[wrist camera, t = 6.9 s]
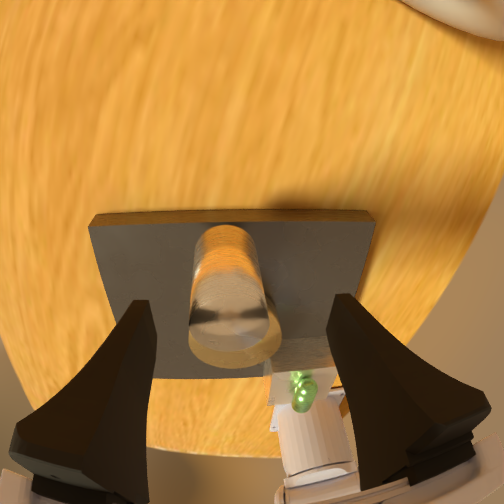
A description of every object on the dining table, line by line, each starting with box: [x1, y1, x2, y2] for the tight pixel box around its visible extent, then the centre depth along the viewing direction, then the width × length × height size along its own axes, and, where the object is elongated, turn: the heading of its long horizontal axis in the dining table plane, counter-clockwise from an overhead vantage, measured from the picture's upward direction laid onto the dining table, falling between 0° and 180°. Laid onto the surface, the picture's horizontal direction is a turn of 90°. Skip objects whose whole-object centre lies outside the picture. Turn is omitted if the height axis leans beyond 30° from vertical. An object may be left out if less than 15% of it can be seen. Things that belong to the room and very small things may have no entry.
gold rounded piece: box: [188, 225, 282, 369], centre depth 17 cm, size 12×6×7 cm, turn 2°
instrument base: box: [88, 209, 376, 413], centre depth 20 cm, size 15×17×6 cm
